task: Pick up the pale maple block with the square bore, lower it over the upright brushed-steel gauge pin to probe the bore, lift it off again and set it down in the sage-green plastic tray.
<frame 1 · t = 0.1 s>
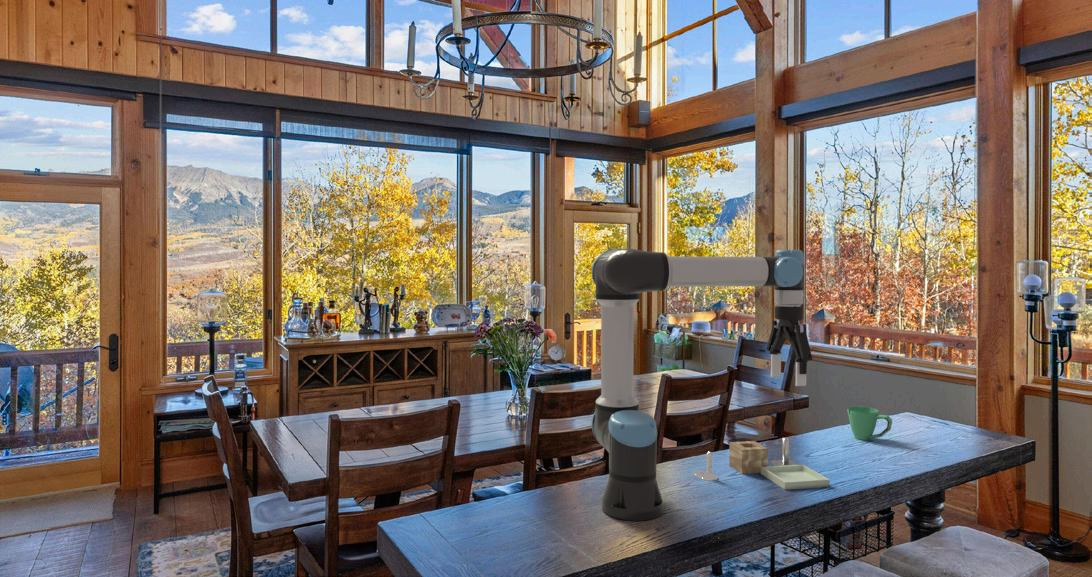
hand: (787, 381, 182), 28 cm above the table, fingers open, 13 cm apart
tray: (794, 480, 183), on the table
gauge post: (785, 466, 195), on the table
bored block: (748, 468, 193), on the table
mug: (869, 440, 223), on the table
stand: (705, 477, 186), on the table
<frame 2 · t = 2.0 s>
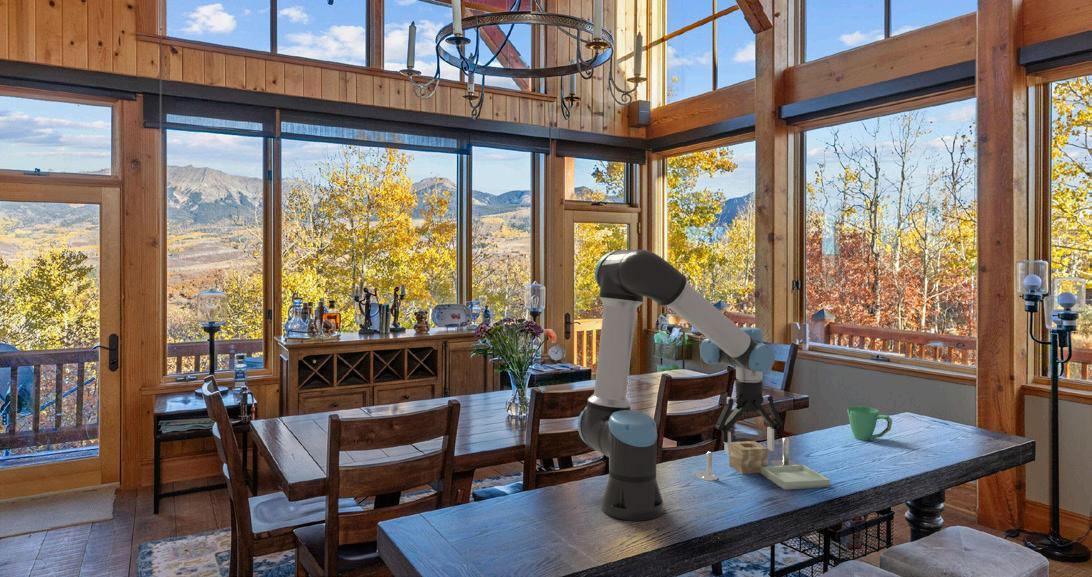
hand: (749, 451, 192), 5 cm above the table, fingers open, 13 cm apart
nothing on the table moved.
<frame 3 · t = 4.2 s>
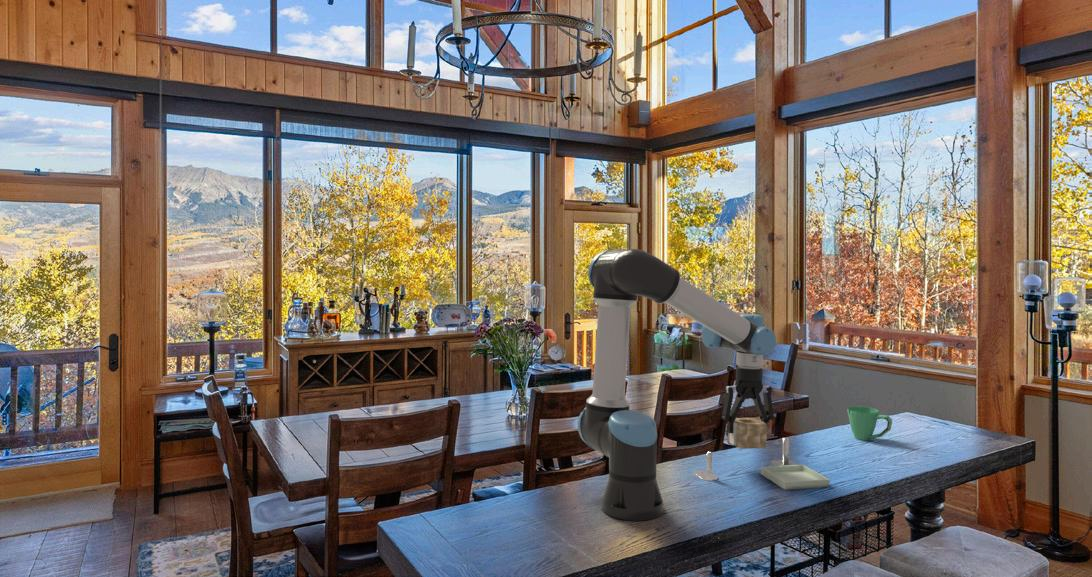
hand: (746, 443, 192), 8 cm above the table, fingers closed on bored block, 8 cm apart
bored block: (746, 444, 192), point 7 cm above the table, touching gripper
everything else where it was.
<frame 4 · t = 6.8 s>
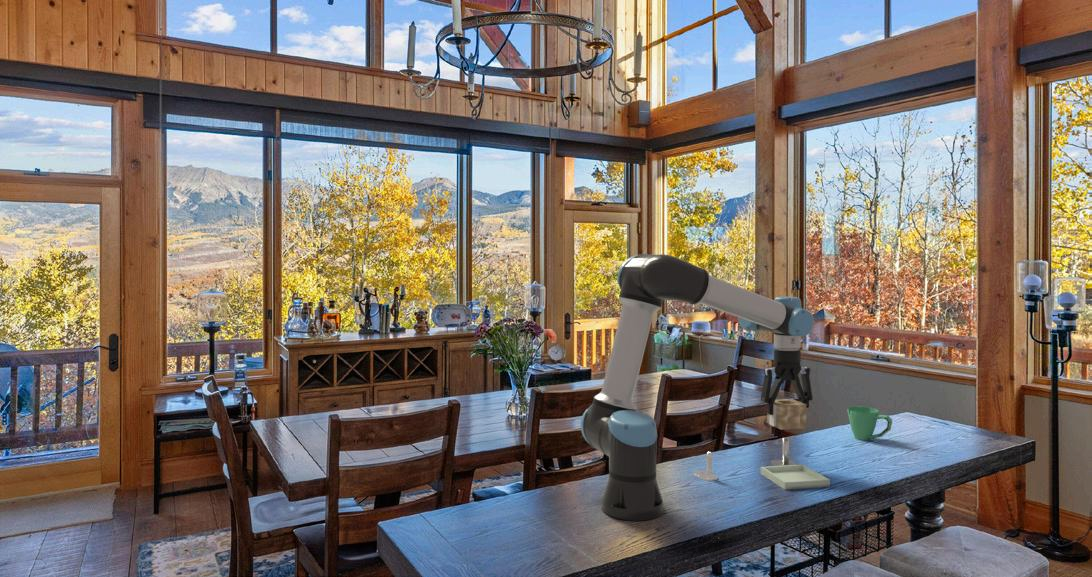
hand: (786, 424, 194), 13 cm above the table, fingers closed on bored block, 8 cm apart
bored block: (786, 425, 194), point 12 cm above the table, touching gripper
everything else where it was.
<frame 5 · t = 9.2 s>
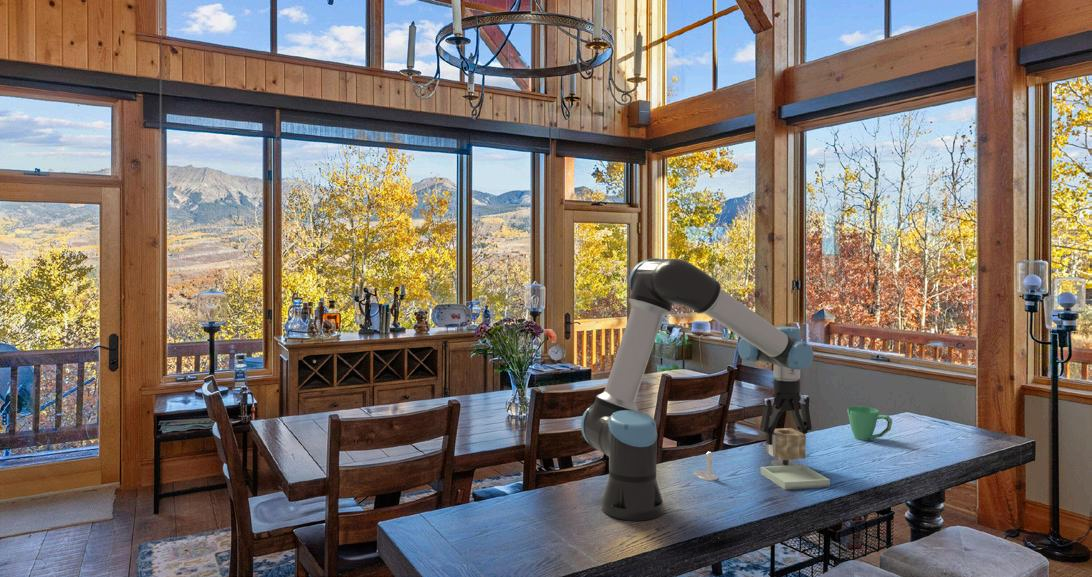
hand: (785, 454, 194), 4 cm above the table, fingers closed on bored block, 8 cm apart
bored block: (785, 455, 194), point 3 cm above the table, touching gripper
everything else where it was.
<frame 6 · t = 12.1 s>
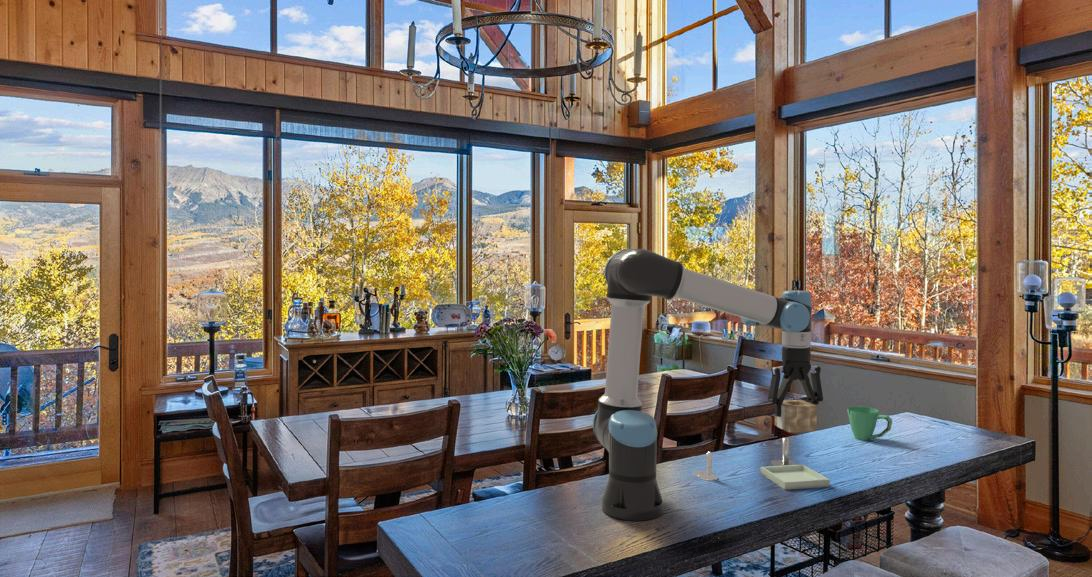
hand: (795, 427, 182), 15 cm above the table, fingers closed on bored block, 8 cm apart
bored block: (795, 428, 182), point 15 cm above the table, touching gripper
everything else where it was.
when the fingers open (2 cm above the table, at t = 14.7 s): bored block drops 1 cm, resting on tray.
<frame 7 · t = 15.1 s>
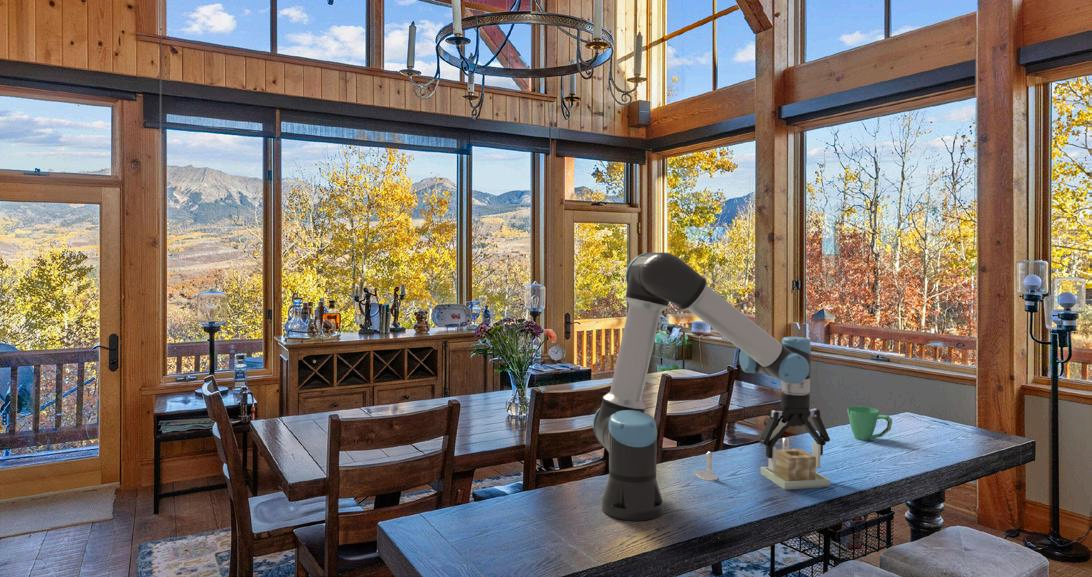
hand: (794, 468, 182), 3 cm above the table, fingers open, 13 cm apart
bored block: (794, 478, 183), point 1 cm above the table, touching tray
everything else where it was.
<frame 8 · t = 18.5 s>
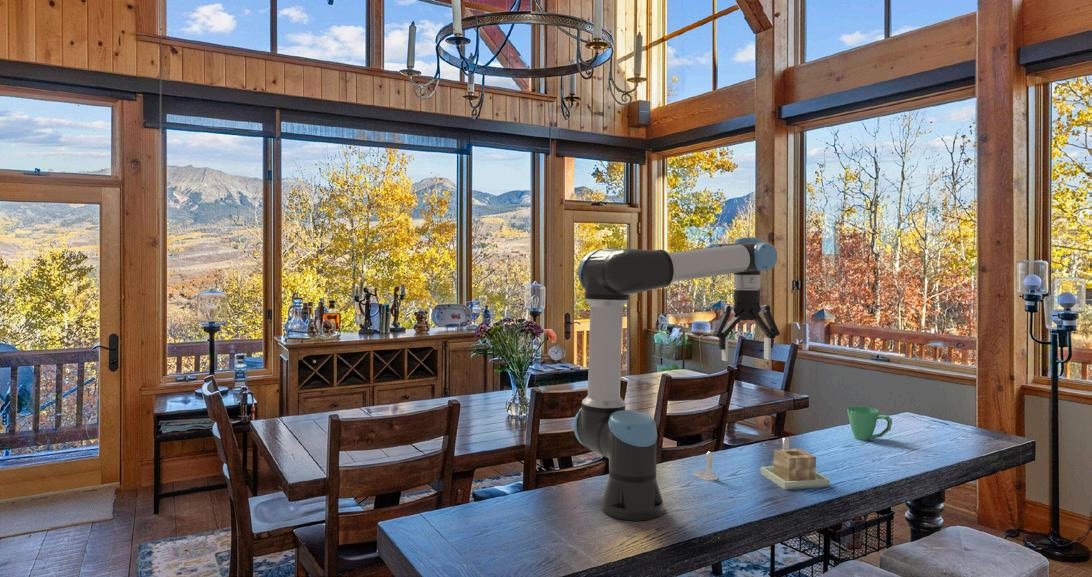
hand: (746, 360, 195), 32 cm above the table, fingers open, 13 cm apart
nothing on the table moved.
at the end: bored block inside the target area on the tray (0.0 cm from its centre), point 0.6 cm above the tray's base; bored block tilted 0°; the gripper is holding nothing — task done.
